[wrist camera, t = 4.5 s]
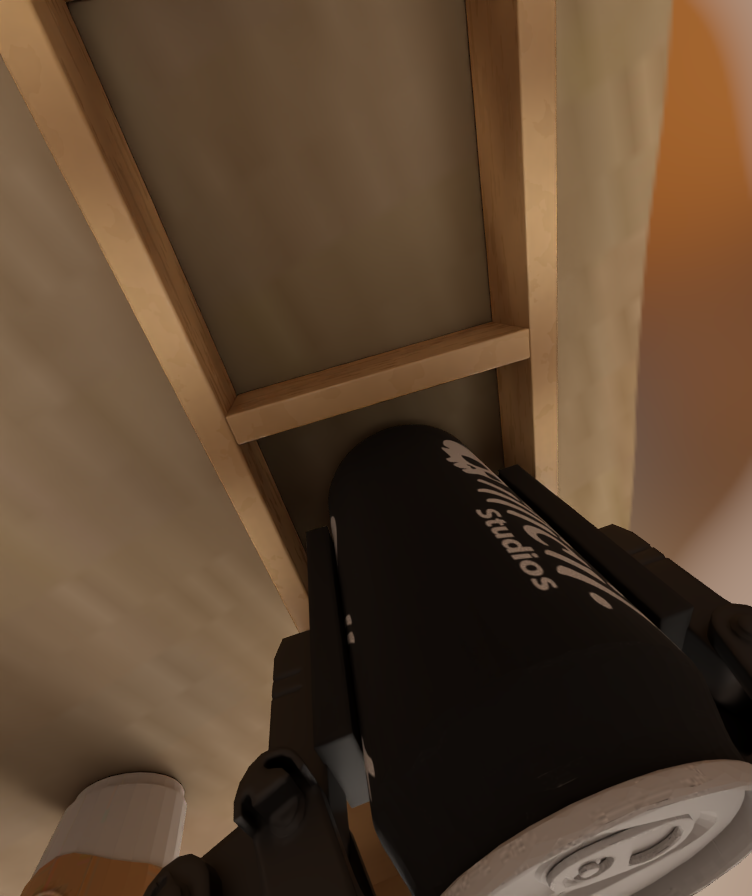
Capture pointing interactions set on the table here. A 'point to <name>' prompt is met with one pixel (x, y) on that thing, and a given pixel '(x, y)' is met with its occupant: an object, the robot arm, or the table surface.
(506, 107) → the rack
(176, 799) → the coffee cup
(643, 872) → the beverage can
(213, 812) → the table surface
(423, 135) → the table surface
